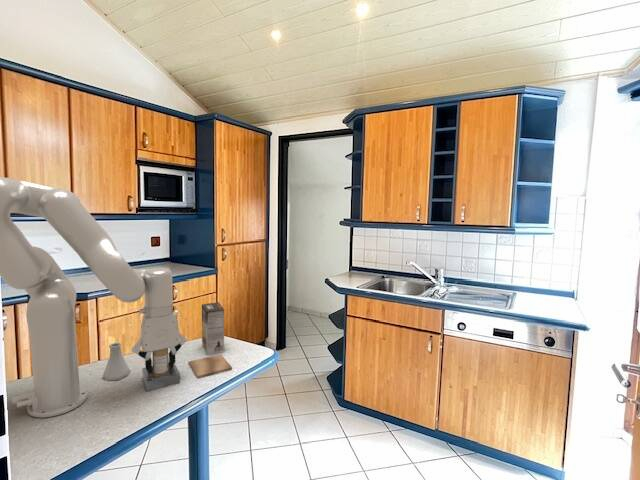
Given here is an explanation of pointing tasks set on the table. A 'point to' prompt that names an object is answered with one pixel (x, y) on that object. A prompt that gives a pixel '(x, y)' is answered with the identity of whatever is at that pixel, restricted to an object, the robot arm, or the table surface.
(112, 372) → the flask
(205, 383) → the table surface
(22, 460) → the table surface
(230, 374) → the table surface
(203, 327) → the coffee box
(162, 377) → the steel collar holder
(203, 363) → the walnut board
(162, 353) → the sprinkles bottle
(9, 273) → the robot arm
